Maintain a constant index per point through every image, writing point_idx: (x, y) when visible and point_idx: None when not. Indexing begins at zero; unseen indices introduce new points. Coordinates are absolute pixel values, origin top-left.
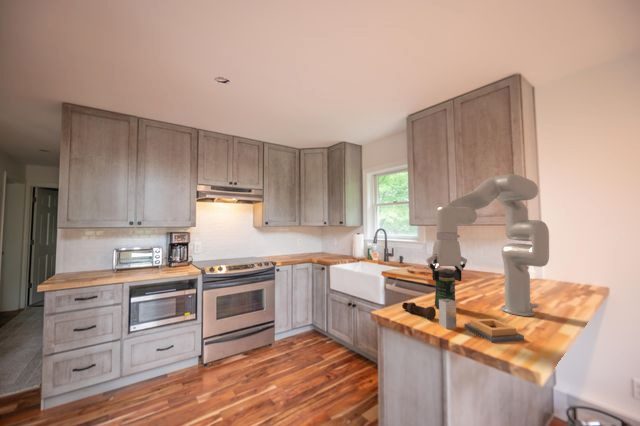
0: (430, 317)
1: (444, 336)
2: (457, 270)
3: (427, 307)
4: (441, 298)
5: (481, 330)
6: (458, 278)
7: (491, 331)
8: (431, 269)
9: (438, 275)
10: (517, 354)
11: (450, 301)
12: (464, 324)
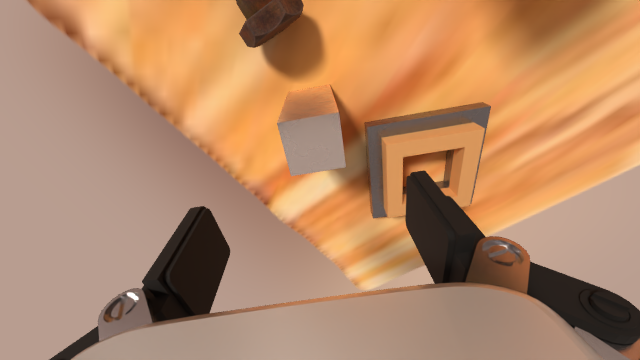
0: (268, 39)
1: (267, 184)
2: (453, 270)
3: (248, 24)
4: None
5: (383, 178)
6: (412, 227)
7: (387, 214)
8: (118, 303)
9: (210, 294)
10: (381, 251)
11: (320, 162)
12: (366, 126)
